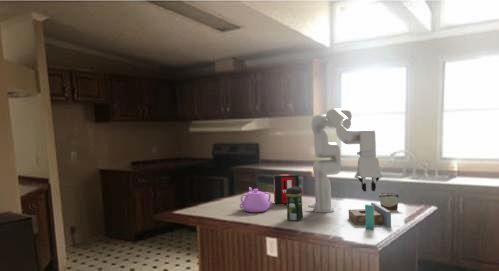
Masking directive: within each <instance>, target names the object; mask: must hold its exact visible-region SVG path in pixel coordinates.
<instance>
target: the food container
mask: <svg viewBox="0 0 499 271" xmlns="http://www.w3.org/2000/svg"><path fill="white" fill-rule="evenodd" d="M378 198H379V202H380V204H379V205H380V206H382V207H383V208H385V209H387V210H389V211H398V205H399V198H400V195H399V193H395V192H380V193H379V194H378Z"/></svg>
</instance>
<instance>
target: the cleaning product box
mask: <svg viewBox="0 0 499 271" xmlns="http://www.w3.org/2000/svg"><path fill="white" fill-rule="evenodd" d="M299 177H300V176H299V174H298V173H287V174H285V173H283V174H273V199H274V201H273V202H275V203H274V205H275V204H287V195H286V190H287V189H288V188H291V187H293V186H297V187H300V184H299V182H300V180H299Z"/></svg>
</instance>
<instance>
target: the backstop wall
mask: <svg viewBox="0 0 499 271" xmlns="http://www.w3.org/2000/svg"><path fill="white" fill-rule="evenodd" d="M370 205H374V210H376V211H377V212H379V213H381V214H382V215H383V225H384V226H385V227H386V228H392V214H391V213H392V212H391V210H387V209H385V208H383V207H382V206H381V204H378V203H377V202H370Z"/></svg>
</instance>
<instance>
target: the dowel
mask: <svg viewBox="0 0 499 271" xmlns="http://www.w3.org/2000/svg"><path fill="white" fill-rule="evenodd" d="M364 209H365V222H366V225H365V229H366V230H368V231H372V230H375V225H374V205H371V203H369V204H365V205H364Z"/></svg>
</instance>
